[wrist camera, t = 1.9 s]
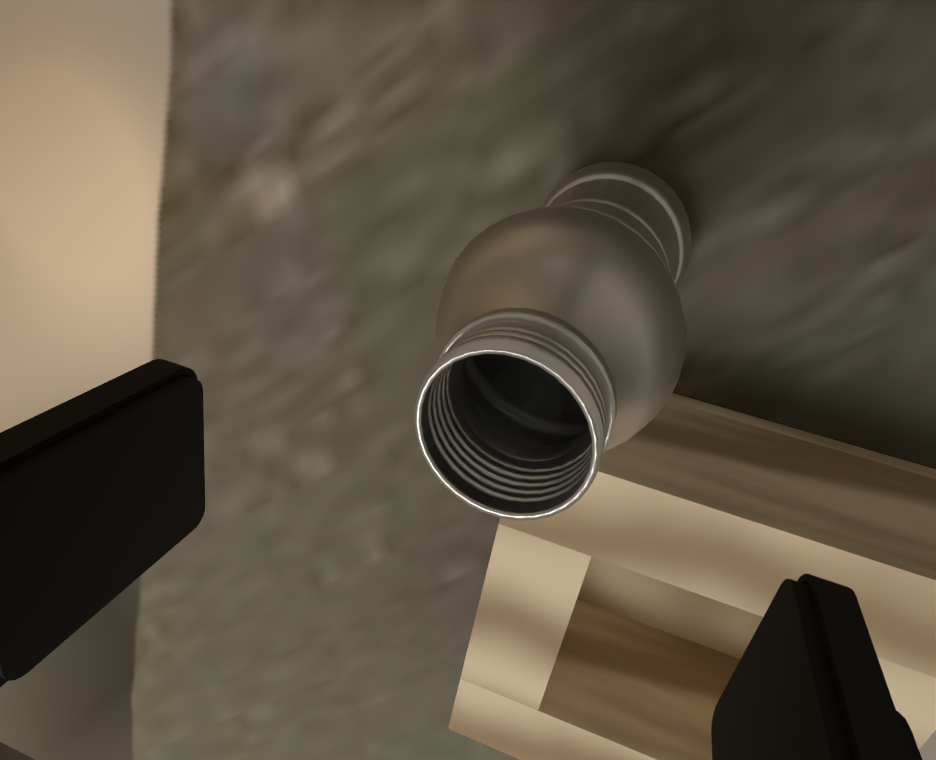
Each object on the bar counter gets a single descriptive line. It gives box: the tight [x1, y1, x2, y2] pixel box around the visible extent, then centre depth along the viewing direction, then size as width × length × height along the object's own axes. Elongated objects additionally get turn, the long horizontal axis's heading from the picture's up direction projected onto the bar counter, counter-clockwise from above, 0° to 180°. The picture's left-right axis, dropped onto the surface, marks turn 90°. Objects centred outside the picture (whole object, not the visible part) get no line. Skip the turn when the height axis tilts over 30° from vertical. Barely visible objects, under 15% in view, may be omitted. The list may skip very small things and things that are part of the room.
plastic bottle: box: [414, 162, 692, 521], centre depth 20 cm, size 6×7×20 cm
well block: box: [448, 393, 936, 760], centre depth 31 cm, size 18×18×9 cm
